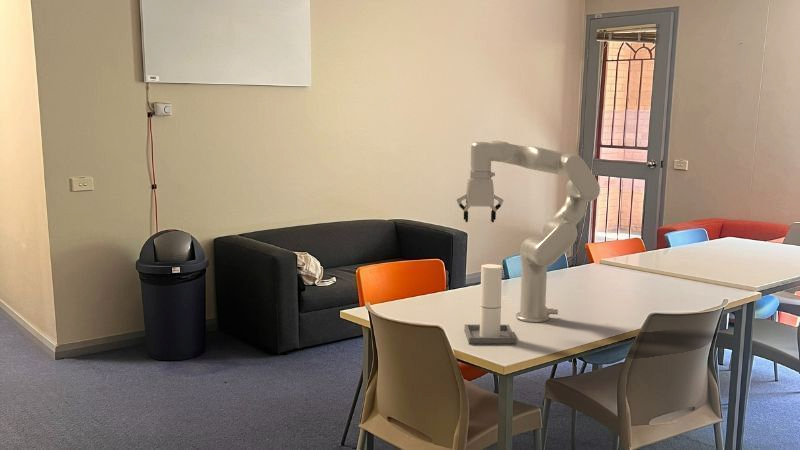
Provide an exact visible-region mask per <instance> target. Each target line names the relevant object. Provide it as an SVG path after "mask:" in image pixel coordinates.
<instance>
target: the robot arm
mask: <svg viewBox="0 0 800 450" xmlns="http://www.w3.org/2000/svg"><path fill="white" fill-rule="evenodd" d="M582 158H583V157H581V156H580V155H578V154H574V153H567V152H563V151H558V150H553V149H548V148H547V149H546V148H543V147H539V146H530V145H529V146H526V145H519V144H513V143H509V142H508V141H507V142H506V141H502V140H492V141H490V142H489V141H488V142H487V141H475V142H472V143H471V146H470V175H469V177H470V178H468V179H467V182H466V193H465V194H464V195H462V196H460V197H458V198H456V202H457V204H458V207H460V208H461V209H462V211H463V220H464V221H465V223H468V222H469V211H468V210H469V209H470V208H471V207H476V208H477V207H484V208H485V207H490V209H491V212H490V221H491V223H494V222H495V221H496V219H497V216H496V215H497V212H498V210H499V209H500V208H501V207H502V205H503V203H504V201H505V200H504V199H503V198H501V197H499V196H497V195H495V189H494V181H493V178H494V177H495V176H496V173H495V172H492V162H496V163H497V162H498V163H504V164H508V165H514V166H518V167H522V168H525V169H528V170H533V171H537V172H542V173H549V174H554V175H558V176H564V177H565V176H566V177H568V179H569V180H568V181H567V183H566V186H565V190H566V191H565V192H566V198H565V202H564V204H563V205H562V206H561V207H560V208H559V210H558V211H557V212H556V213H554V215H553V216H552V217H551V218H549V219H548V220H547V221H546V223H545V224H544V225H543V226H542V229H541V231H542V236H543V237H544V239H543V238H540V237H538V236H530V237H527V238H525V239H524V240H523V241H522V243H521V246H520V249H519V250H520V254H519V255H520V261H521V262H520V263H521V275H520V276H521V277H520V278H521V279H520V280H521V281H520V304H519V305H520V309H519V310H520V311H518V312H517V313H516V314H515V318H517V320H520V321H522V322H528V323H544V322H547V321H549V320H550V315H558V314H559V310H558V309H557V308H556V309H554V308H548V307H547V306H546V302H547V301H546V300H547V281H548V280H547V279H548V276H547V275H548V274H547V272H548V270H547V267H550V266H551V265H554V263H556V262H557V261H558V260H559V259H560V258H561V257H562V256H563V255H564V254H565V253H566V252H567V251H568V250H569V249H570V248H572V246H573V245H574V243H576V240H577V238H578V229H577V227H576V225H578V223H579V222H580V221H581V220H582V219H583V217H584V216H585V214H586V210H587V202H593V201H595V200H596V199H597V198H598V197H599V195H600V193H601V186H600V184H599V182H598V180H597V178H596V177H595V175H594V174H593V173H592V171H591V170H590V168H589V166H588V165H587V163H586V162H585V160H584V159H582ZM492 177H493V178H492ZM464 200H465V205H463V203H462V201H464ZM495 200H496V201H498V202H497V204H496V205H494V204H495Z"/></svg>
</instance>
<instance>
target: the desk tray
mask: <svg viewBox="0 0 800 450" xmlns="http://www.w3.org/2000/svg"><path fill="white" fill-rule="evenodd" d="M464 334H465V336H466V339H467V341H468V342H467V343H468V345H474V346H475V345H489V346H490V345H496V346H497V345H498V346H499V345H503V346H504V345H505V346H506V345H508V346H509V345H510V346H511V345H512V346H513V345H517V337H516V335H515V334H514V331H513V330H512V328H511V326H510V325H509V324H500V337H480V324H469V323H468V324H464Z"/></svg>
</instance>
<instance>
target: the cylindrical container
mask: <svg viewBox="0 0 800 450" xmlns="http://www.w3.org/2000/svg"><path fill="white" fill-rule="evenodd" d="M480 268H481V270H480V271H481V272H480V300H479V301H480V303H479V304H480V306H479V307H480V308H479V312H480V313H479V325H480V337H500V325H501V312H502V285H503V284H502V279H503V277H502V276H503V266H502V265H500V264H494V263H486V264H481V267H480Z"/></svg>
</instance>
